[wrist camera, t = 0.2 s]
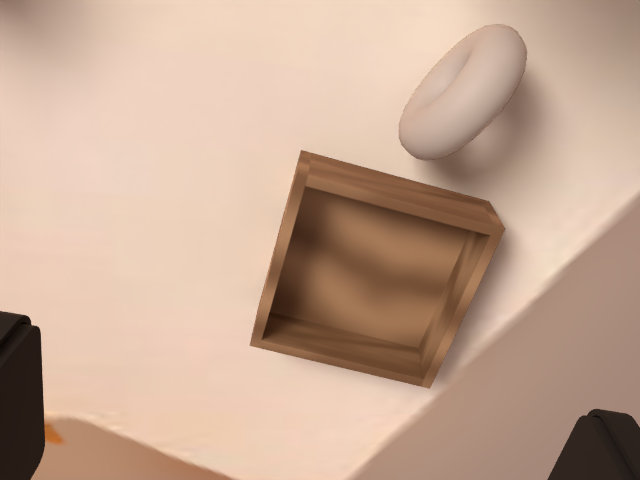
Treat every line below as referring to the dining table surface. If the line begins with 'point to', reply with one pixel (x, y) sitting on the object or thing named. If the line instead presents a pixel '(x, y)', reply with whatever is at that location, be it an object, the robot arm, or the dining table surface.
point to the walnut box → (373, 270)
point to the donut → (463, 92)
